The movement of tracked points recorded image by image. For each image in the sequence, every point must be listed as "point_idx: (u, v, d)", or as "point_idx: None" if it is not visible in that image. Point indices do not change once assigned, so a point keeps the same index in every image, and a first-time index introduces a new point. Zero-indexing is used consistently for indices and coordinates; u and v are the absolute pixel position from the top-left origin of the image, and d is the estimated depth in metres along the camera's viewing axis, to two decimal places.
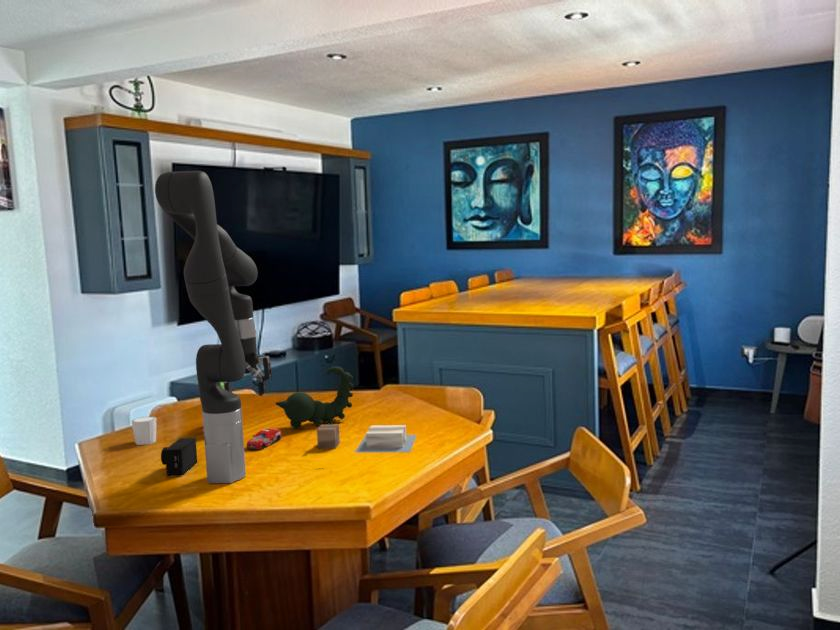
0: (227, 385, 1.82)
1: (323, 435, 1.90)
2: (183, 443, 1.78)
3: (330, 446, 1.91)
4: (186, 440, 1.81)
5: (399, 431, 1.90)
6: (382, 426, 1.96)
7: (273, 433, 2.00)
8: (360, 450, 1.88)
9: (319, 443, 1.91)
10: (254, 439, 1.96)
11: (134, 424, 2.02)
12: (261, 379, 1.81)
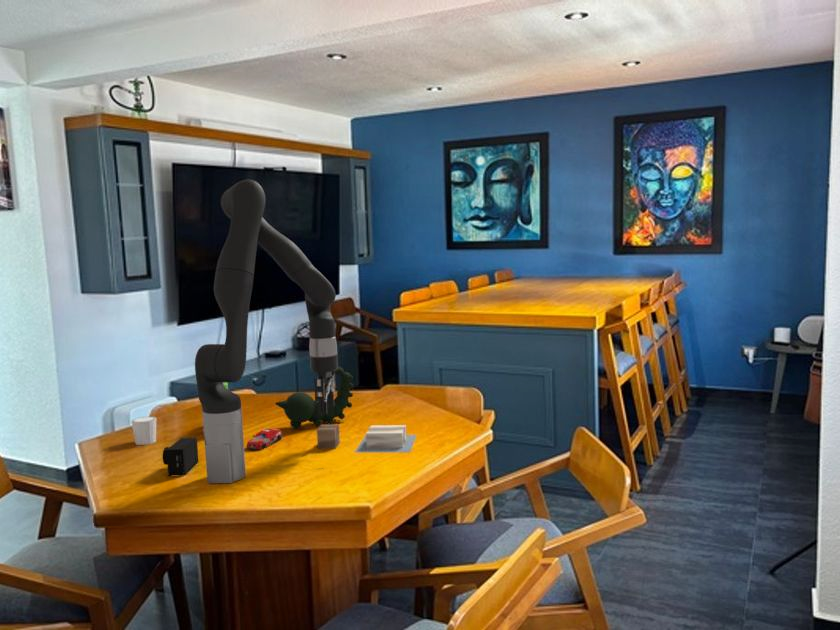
0: (326, 403, 1.88)
1: (323, 435, 1.90)
2: (185, 443, 1.79)
3: (330, 446, 1.91)
4: (187, 440, 1.81)
5: (399, 431, 1.90)
6: (382, 426, 1.96)
7: (273, 434, 2.00)
8: (360, 450, 1.88)
9: (319, 443, 1.91)
10: (254, 439, 1.96)
11: (134, 424, 2.02)
12: (334, 390, 1.97)
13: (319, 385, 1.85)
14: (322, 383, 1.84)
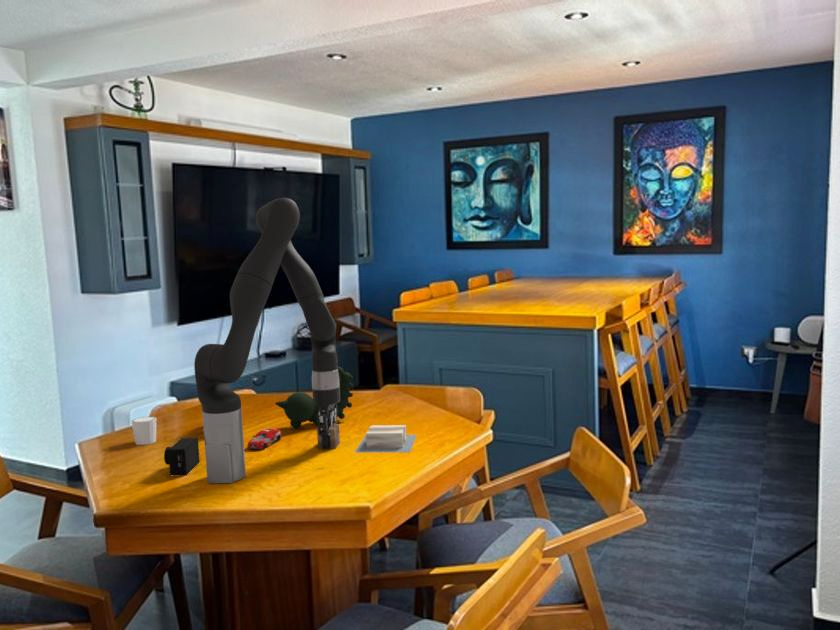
0: None
1: None
2: (186, 443, 1.79)
3: None
4: (188, 440, 1.81)
5: (399, 431, 1.90)
6: (382, 426, 1.96)
7: (273, 433, 2.00)
8: (360, 450, 1.88)
9: (319, 443, 1.91)
10: (255, 439, 1.95)
11: (134, 424, 2.02)
12: None
13: (322, 422, 1.86)
14: (325, 420, 1.86)
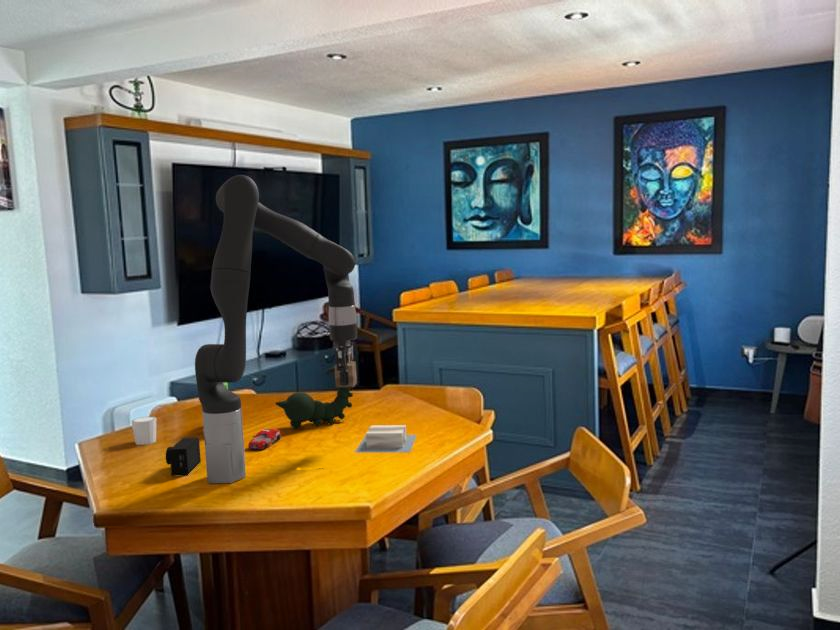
0: (347, 373, 1.89)
1: None
2: (187, 443, 1.79)
3: None
4: (190, 440, 1.81)
5: (399, 431, 1.90)
6: (382, 426, 1.96)
7: (273, 433, 2.00)
8: (360, 450, 1.88)
9: (337, 379, 1.90)
10: (256, 439, 1.95)
11: (134, 424, 2.02)
12: None
13: (340, 357, 1.85)
14: (343, 355, 1.85)
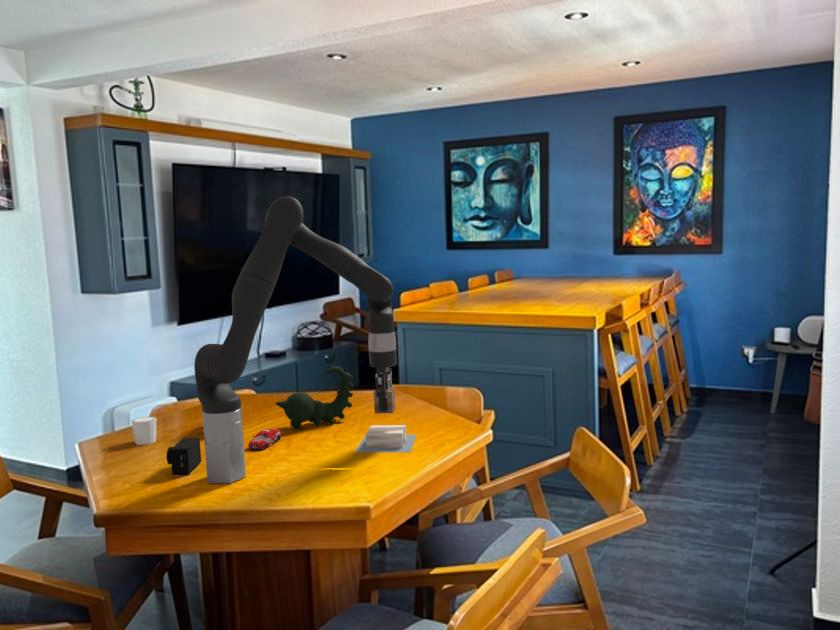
0: None
1: None
2: (188, 443, 1.79)
3: None
4: (190, 439, 1.82)
5: (399, 431, 1.90)
6: (382, 426, 1.96)
7: (274, 433, 2.00)
8: (360, 450, 1.88)
9: (376, 406, 1.90)
10: (256, 439, 1.95)
11: (134, 424, 2.02)
12: None
13: (380, 383, 1.85)
14: (383, 382, 1.85)
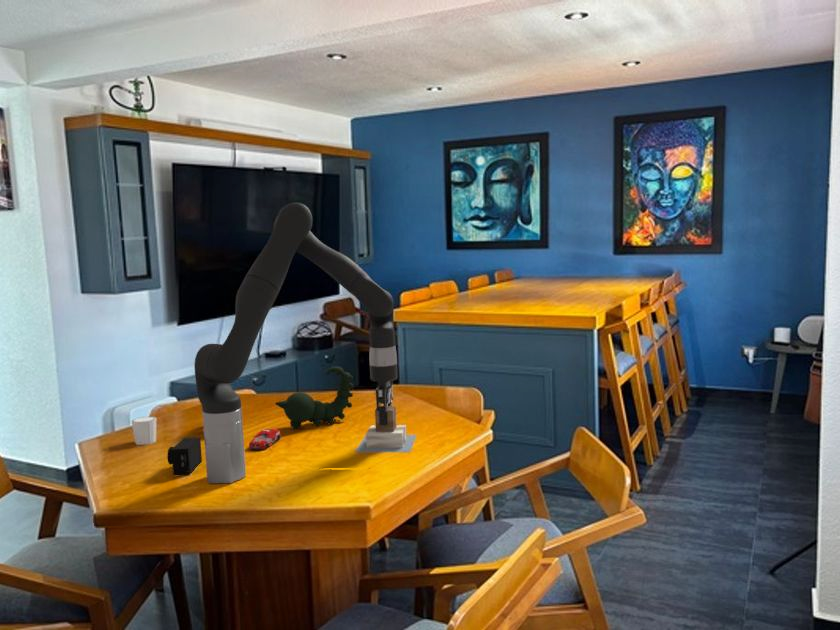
0: None
1: None
2: (189, 443, 1.79)
3: (388, 427, 1.90)
4: (191, 439, 1.82)
5: (399, 431, 1.90)
6: None
7: (274, 433, 2.00)
8: (360, 450, 1.88)
9: (377, 424, 1.90)
10: (256, 439, 1.95)
11: (134, 424, 2.02)
12: None
13: (381, 396, 1.85)
14: (384, 394, 1.85)
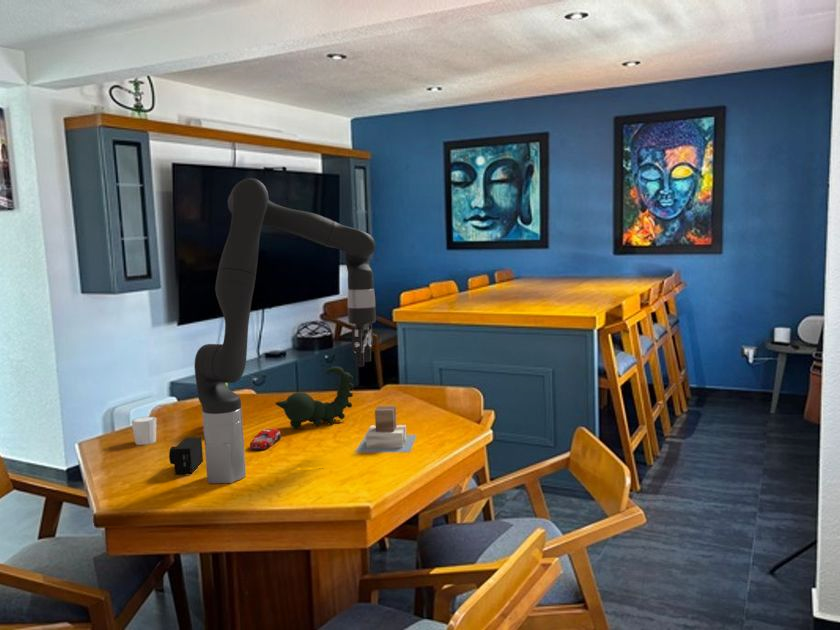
0: (363, 355, 1.87)
1: (381, 416, 1.90)
2: (190, 442, 1.79)
3: (388, 427, 1.90)
4: (192, 439, 1.82)
5: (399, 431, 1.90)
6: None
7: (274, 433, 2.00)
8: (360, 450, 1.88)
9: (377, 424, 1.90)
10: (257, 439, 1.95)
11: (134, 424, 2.02)
12: (371, 345, 1.96)
13: (357, 335, 1.84)
14: (360, 333, 1.84)
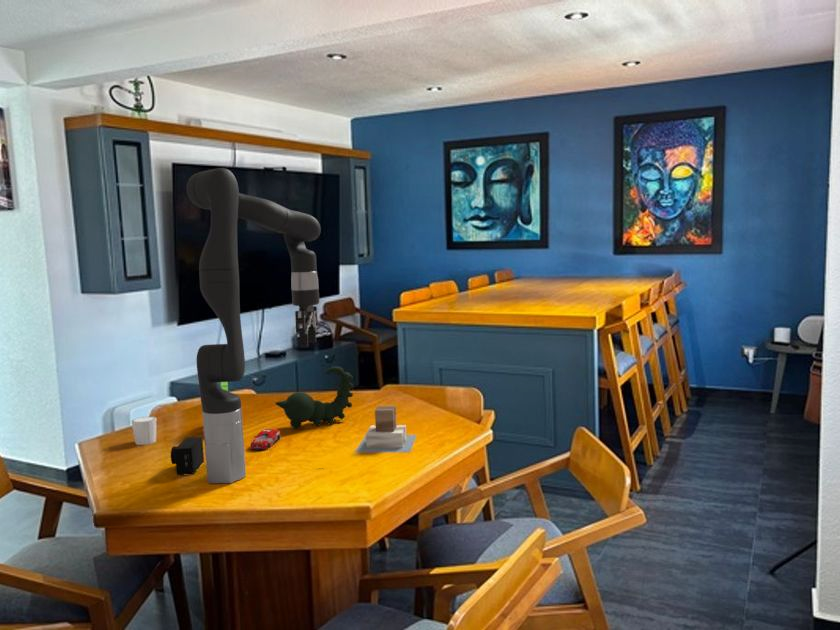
0: (307, 336, 1.92)
1: (381, 416, 1.90)
2: (192, 442, 1.79)
3: (388, 427, 1.90)
4: (193, 439, 1.82)
5: (399, 431, 1.90)
6: None
7: (274, 433, 2.00)
8: (360, 450, 1.88)
9: (377, 424, 1.90)
10: (258, 440, 1.95)
11: (134, 424, 2.02)
12: (316, 326, 2.01)
13: (300, 317, 1.89)
14: (303, 315, 1.89)
